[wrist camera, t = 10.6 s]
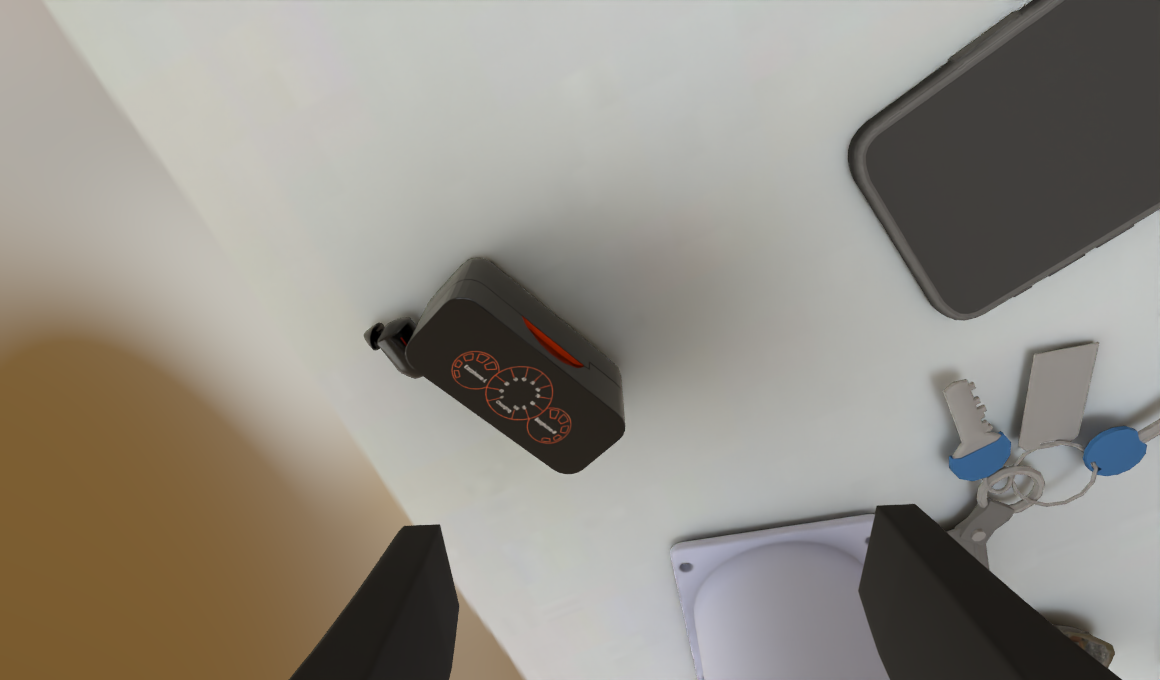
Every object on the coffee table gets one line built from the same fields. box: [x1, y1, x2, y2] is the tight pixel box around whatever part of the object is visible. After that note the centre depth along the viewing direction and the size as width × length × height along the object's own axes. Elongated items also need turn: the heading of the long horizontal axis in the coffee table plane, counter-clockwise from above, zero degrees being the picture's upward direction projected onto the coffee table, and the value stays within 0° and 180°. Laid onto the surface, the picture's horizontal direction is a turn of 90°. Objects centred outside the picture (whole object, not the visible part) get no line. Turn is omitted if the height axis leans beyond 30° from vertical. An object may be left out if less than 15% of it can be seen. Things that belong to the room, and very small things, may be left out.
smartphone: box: [848, 0, 1160, 320], centre depth 17 cm, size 7×1×15 cm
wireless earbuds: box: [364, 258, 625, 474], centre depth 19 cm, size 5×7×3 cm, turn 47°
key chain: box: [943, 342, 1160, 570], centre depth 22 cm, size 14×8×1 cm, turn 149°
